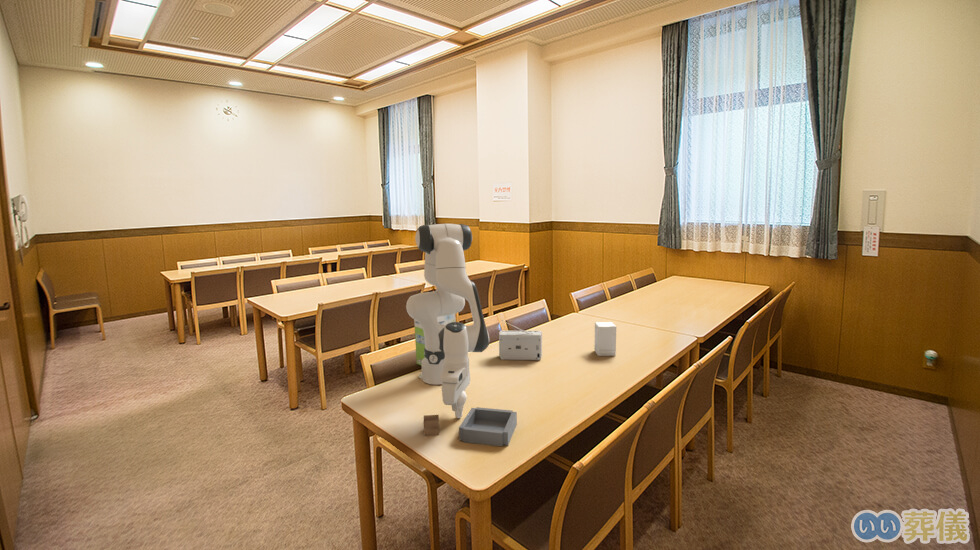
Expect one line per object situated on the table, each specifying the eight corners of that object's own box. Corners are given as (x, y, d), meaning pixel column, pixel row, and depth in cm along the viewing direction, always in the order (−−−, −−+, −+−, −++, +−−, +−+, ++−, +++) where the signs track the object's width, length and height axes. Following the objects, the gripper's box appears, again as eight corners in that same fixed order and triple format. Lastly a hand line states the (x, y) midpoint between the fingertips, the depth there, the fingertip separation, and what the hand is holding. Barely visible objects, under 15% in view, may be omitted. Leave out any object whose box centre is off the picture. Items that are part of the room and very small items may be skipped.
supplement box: (616, 356, 228) (616, 326, 226) (597, 356, 228) (598, 326, 226) (611, 350, 237) (612, 321, 235) (594, 350, 237) (594, 321, 235)
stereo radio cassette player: (541, 355, 231) (541, 316, 228) (542, 361, 223) (542, 320, 220) (499, 355, 233) (499, 316, 230) (498, 360, 225) (497, 320, 222)
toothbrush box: (428, 369, 214) (425, 318, 211) (415, 364, 222) (412, 315, 219) (458, 360, 226) (456, 311, 223) (445, 355, 234) (443, 308, 230)
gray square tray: (472, 418, 167) (472, 406, 166) (517, 423, 163) (517, 411, 162) (458, 441, 151) (458, 428, 150) (507, 447, 147) (507, 433, 146)
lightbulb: (470, 417, 167) (470, 388, 166) (458, 423, 163) (457, 394, 161) (458, 412, 171) (458, 384, 170) (446, 418, 167) (445, 389, 165)
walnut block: (424, 429, 160) (423, 415, 159) (439, 428, 160) (438, 414, 160) (424, 436, 155) (423, 422, 154) (439, 435, 155) (438, 421, 155)
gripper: (457, 358, 174) (458, 393, 177) (438, 379, 155) (439, 418, 157) (473, 359, 173) (474, 394, 175) (456, 380, 153) (457, 420, 156)
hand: (457, 406), depth 166 cm, fingers closed on lightbulb, 5 cm apart
